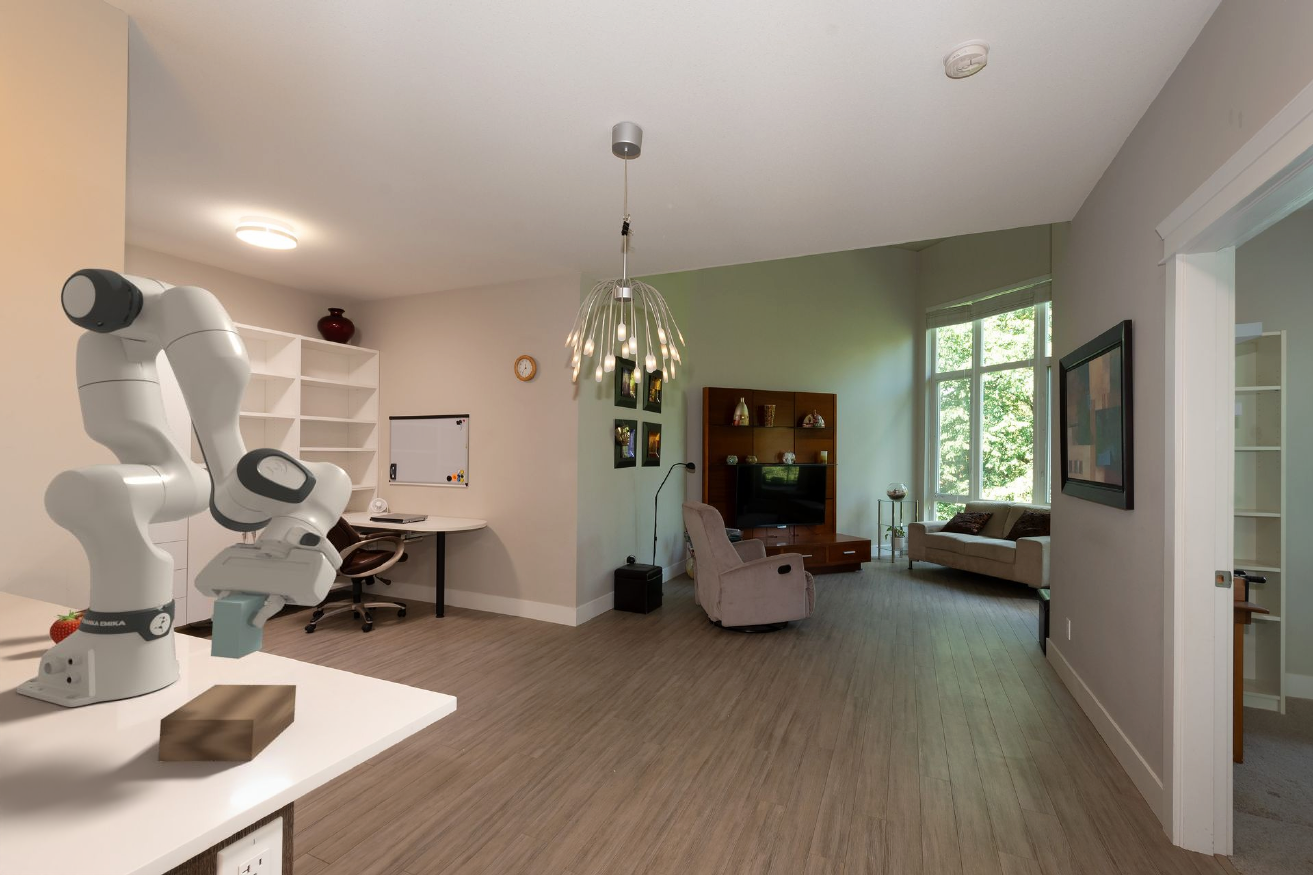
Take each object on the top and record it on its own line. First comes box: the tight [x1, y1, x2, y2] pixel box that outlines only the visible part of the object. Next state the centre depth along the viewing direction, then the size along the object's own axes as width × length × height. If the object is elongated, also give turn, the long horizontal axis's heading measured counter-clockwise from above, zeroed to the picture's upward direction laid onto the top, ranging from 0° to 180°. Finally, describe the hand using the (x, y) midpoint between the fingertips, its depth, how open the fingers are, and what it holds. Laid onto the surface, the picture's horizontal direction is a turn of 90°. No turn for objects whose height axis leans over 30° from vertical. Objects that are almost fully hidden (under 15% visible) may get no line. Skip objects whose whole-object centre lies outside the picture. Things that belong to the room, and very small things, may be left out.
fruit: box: [49, 609, 83, 645], centre depth 121 cm, size 5×5×8 cm
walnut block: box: [157, 684, 297, 763], centre depth 89 cm, size 12×12×6 cm
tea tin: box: [210, 594, 266, 660], centre depth 89 cm, size 4×4×8 cm
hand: (235, 623), depth 89 cm, fingers closed on tea tin, 4 cm apart
